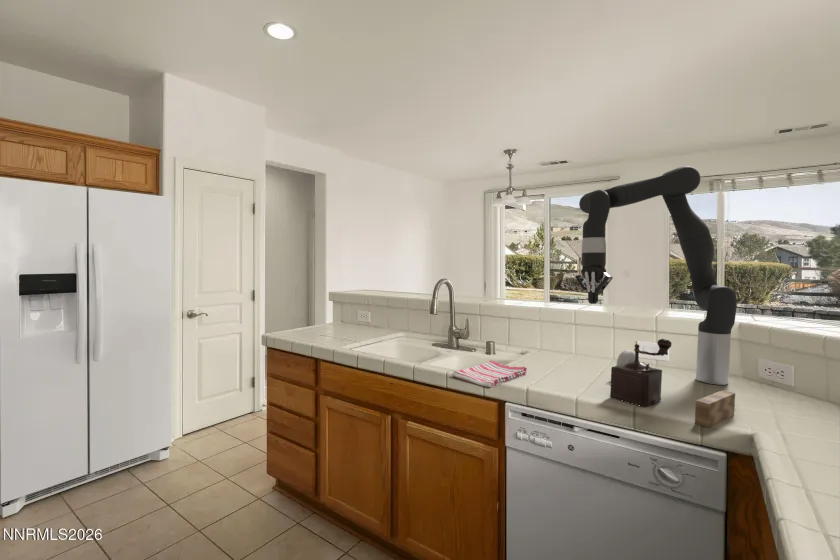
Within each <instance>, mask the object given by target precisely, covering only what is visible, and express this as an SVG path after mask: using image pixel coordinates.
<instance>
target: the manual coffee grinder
mask: <svg viewBox="0 0 840 560" xmlns="http://www.w3.org/2000/svg"><path fill="white" fill-rule="evenodd" d="M656 344H657V346H658V348H659V350H658V351H657V352H652V351H647V350H646V351H645V350H640V348H641V347H640V344H638V343H636V344H634V350H633V352H634V353H635V360H634V362H629V363H626V364H623V365H618V366H617V365H615V366H611V369H610V371H611V372H610V373H611V375H610V396H609V397H610V398H611V397H613V398H612V399H614V398H615V399H614V400H617V399H618V401H621V400H623V401H622V402H624V401H626V402H625V403H627V402H629V403H628V404H631V403H633V404H632V405H634V404H637V405H640V406H639V407H641V406H644V407H643V408H646V407H649V405H650V406H652V404H653V405H656V403H659V402H661V401H662V396H661V395H662V378H663V377H662V376H663V370H662V369H660V368H656V367H652V366H650V363H647V364H646V363H645V362H643V361H640V360H639V358H640V357H639V356H640V355H639V354H641V355H648V356H653V357H654V356H661V357H664V356H667V355H669V353H668V351H669V349H671V347H672V341H670V340H669V339H666V338H660V339H658V340H657V343H656ZM637 405H636V406H637ZM645 406H646V407H645Z"/></svg>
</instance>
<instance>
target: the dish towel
mask: <svg viewBox="0 0 840 560" xmlns="http://www.w3.org/2000/svg"><path fill="white" fill-rule="evenodd" d="M527 368H528V367H526V366H509V365H504V364H502V363H500V362H497V361H495V360H489V361H486V362H483V363H481V364H478V365H477V364H476V365H474V366H471V367H464V368H461V369H459V370H455V371H453V372H452V373H451V376H452V377H454V378H456V379H459V380H462V381H466V382H469V383H471V384H474V385H478V386H482V387H486V388H489V389H491V388H494V387H497V386H499V385H503V384H504V383H506V382H511V381H513V380H516V379H520V378H523V377H524V376H526V375H527V370H528V369H527Z"/></svg>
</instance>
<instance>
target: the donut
mask: <svg viewBox="0 0 840 560" xmlns="http://www.w3.org/2000/svg"><path fill="white" fill-rule="evenodd" d="M616 360H617V361H616V365H615V366H618V365H623V364H626V363H629V362H634V360H635V351H634V350H633V351H632V349H625V350H623V351H621V352H620V353H619V355H618V356H617V359H616Z"/></svg>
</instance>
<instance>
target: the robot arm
mask: <svg viewBox="0 0 840 560" xmlns="http://www.w3.org/2000/svg"><path fill="white" fill-rule="evenodd" d="M700 183H701V174H700V172H699V171H698V170H697V169H696V168H695V167H693V166H687V165H685V166H681V167H676V168H673V169H671V170H668V171H666V172H665V173H663V174H662V175H659V176H656V177H652V178H647V179H643V180H638V181H633V182H628V183H623V184H619V185H616V186H613V187H609V188H607V189H597V190H593V191H591V192H588V193H585V194H584V195H582V196H581V198H580V200H579V204H578V205H579V209H580V210H581V211H582V212H583V213H585V214H588V216H587V219H586V220H585V221H584V222H583V224H582V241H581V242H582V243H581V262H580V263H581V266H582V268H581V270H580V273H579V274H576V275H575V277H574V278H575V280H576V281H577V282H578V284H579V286H580V287H581V289H582V290H583V291H587V301H588V303H589V304H593V305H594V304H597V303H598V302H599V293H600V292H603V291H604V290H605V289H606V288H607V287H608V285H609V284H610V283H611V281H612V280H613V276H612V275H609V274H608V273H607V269H606V264H607V241H606V228H607V227H606V224H607V220H608V219H609V213H610V209H613V208H621V207H624V206H630V205H633V204H636V203H640V202H642V201H647V200H649V199H653V198H655V197H660V196H662V198H663V201H664V203H665V205H666V207H667V211H668V212H669V215H670V217H671V219H672V220H671V221H672V223H673V225H674V229H675V232H676V234H677V239H678V242H679V245H680V249H681V251H682V254H683V256H684V260H685V263H686V266H687V270H688V273H689V276H690V281H691V287H692V291H693V295H694V300H695V303H696V305H697V306H698V307H699V308H700V309H701V310H704V311H706V315H705V319H704V320H703V321H700V322H699V323H698V326H697V327H698V330H697V345H696V346H697V347H696V349H697V350H696V371H695V379H696V381H699V382H702V383H705V384H706V383H707V384H711V385H718V386H720V385H721V386H726V385H729V379H730V378H729V377H730V376H729V375H730V374H729V373H730V362H731V361H730V358H731V344H732V343H731V338H732V329H733V327H734V325H735V324H736V323H735V322H736V317H737V316H736V315H737V314H736V313H737V306H738V305H737V304H738V299H737V294H736V293H735V291H734V290H733V289H732V288H730V287H728V286H725V285H718V284H717V281H716V279H715V276H714V272H713V267H712V266H713V259H714V255H715V245H714V240H713V238H712V235H711V231H710V229H709V227H708V226H707V224H706V223H705V221H704V220H702V219H701V217H700V216H699V215H697V214H696V213H695V212H694V210H693V209H692V208H691V206H690V204H689V201H688V199H687V194H690V193H692V192H693V191H695V190H696V189H697V188H698V187H699V185H700Z"/></svg>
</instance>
